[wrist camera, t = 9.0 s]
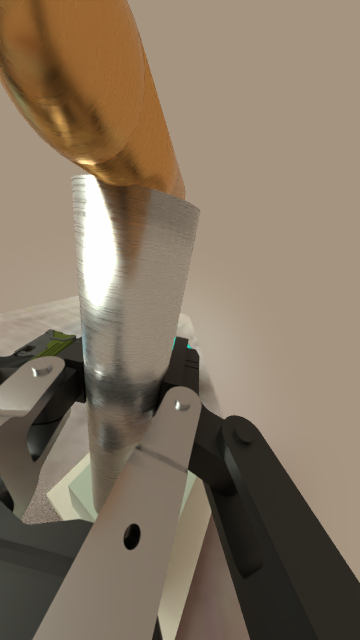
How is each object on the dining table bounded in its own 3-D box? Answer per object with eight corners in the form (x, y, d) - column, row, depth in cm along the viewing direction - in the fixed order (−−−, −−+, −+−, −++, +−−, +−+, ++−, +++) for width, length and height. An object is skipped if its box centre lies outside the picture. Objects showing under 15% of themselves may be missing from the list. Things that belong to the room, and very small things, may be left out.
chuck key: (121, 582, 8) (264, -246, 1) (58, 564, 8) (-295, -310, 1) (155, 439, 14) (209, 183, 7) (118, 430, 14) (133, 168, 7)
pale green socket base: (48, 500, 19) (39, 473, 16) (128, 419, 29) (130, 394, 26) (162, 669, 13) (177, 668, 10) (216, 491, 22) (230, 467, 20)
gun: (24, 330, 46) (80, 341, 46) (-78, 382, 28) (13, 399, 29) (23, 321, 45) (79, 333, 45) (-84, 370, 27) (10, 389, 28)
